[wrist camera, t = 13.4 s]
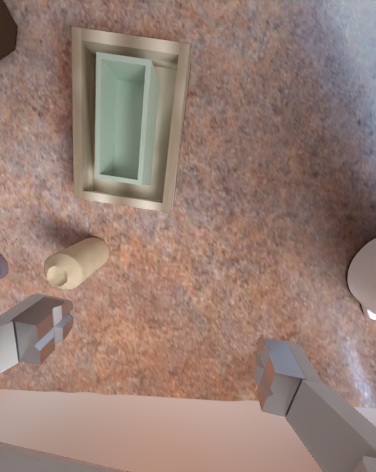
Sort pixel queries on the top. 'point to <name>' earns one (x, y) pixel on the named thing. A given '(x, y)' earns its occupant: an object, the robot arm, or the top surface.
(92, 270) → the candle
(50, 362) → the top surface
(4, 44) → the beer bottle
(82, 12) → the top surface
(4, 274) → the cat figurine
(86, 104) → the box
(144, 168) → the green crate
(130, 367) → the top surface
